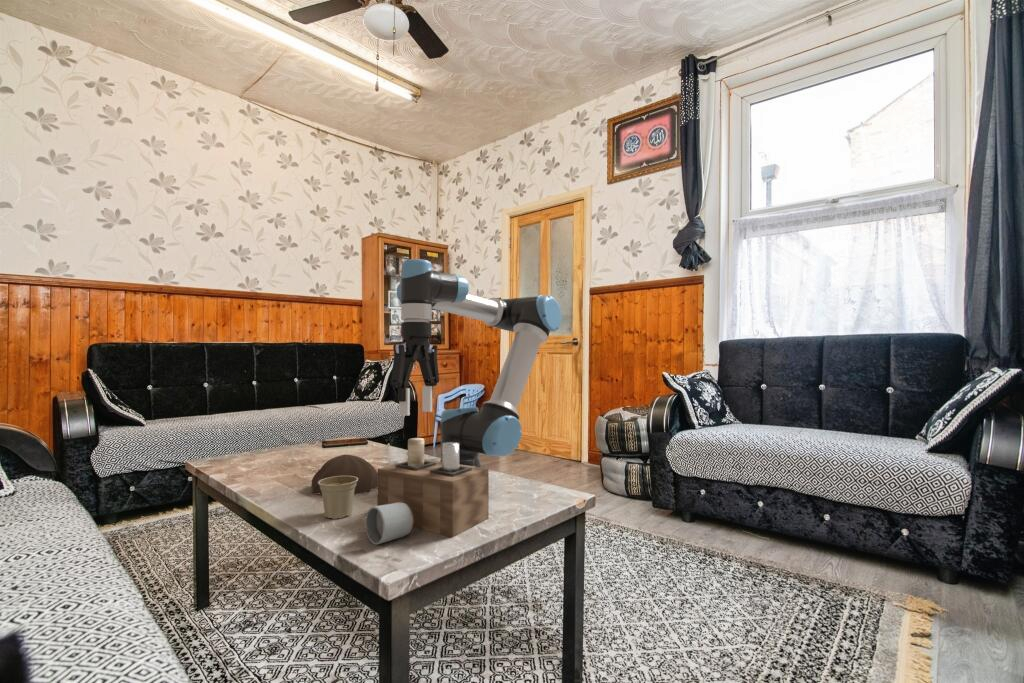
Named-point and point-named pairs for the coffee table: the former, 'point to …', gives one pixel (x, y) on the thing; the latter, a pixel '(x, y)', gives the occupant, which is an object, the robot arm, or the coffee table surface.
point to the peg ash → (415, 452)
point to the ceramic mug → (388, 522)
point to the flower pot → (338, 495)
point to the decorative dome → (348, 472)
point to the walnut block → (437, 495)
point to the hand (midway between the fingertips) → (416, 413)
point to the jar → (466, 460)
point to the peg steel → (450, 457)
